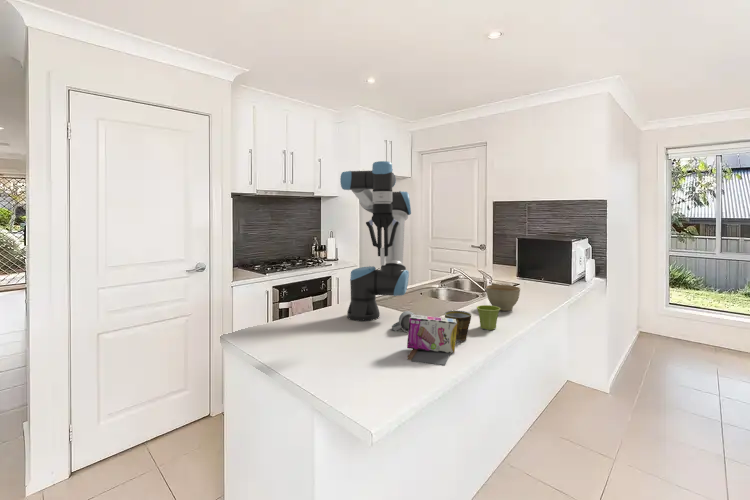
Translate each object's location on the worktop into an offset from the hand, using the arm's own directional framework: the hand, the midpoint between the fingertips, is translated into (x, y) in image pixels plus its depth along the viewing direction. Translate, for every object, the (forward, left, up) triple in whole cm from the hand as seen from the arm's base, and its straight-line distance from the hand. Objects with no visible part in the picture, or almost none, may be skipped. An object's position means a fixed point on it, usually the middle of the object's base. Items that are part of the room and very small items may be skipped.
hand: (383, 264), depth 146 cm
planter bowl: (+43, +59, -29) cm, 78 cm away
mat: (+22, -13, -28) cm, 38 cm away
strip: (+16, -13, -28) cm, 35 cm away
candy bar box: (+13, -12, -22) cm, 28 cm away
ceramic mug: (+6, +11, -29) cm, 31 cm away
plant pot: (+38, +24, -29) cm, 53 cm away
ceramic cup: (+28, +4, -29) cm, 40 cm away
